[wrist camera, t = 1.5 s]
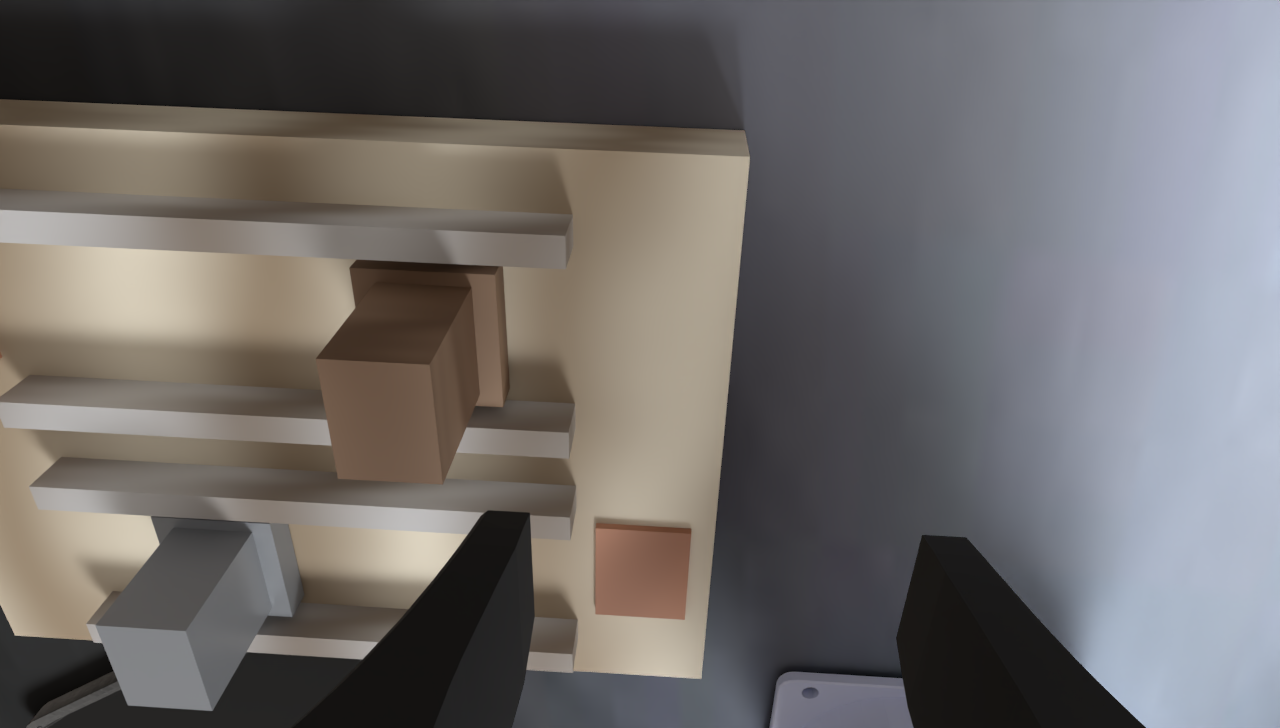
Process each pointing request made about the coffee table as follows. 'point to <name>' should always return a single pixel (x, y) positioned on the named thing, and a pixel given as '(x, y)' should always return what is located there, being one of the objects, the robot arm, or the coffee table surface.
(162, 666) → the switch tab far
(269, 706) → the phone
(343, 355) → the switch tab near
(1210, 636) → the coffee table surface
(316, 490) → the switch panel
